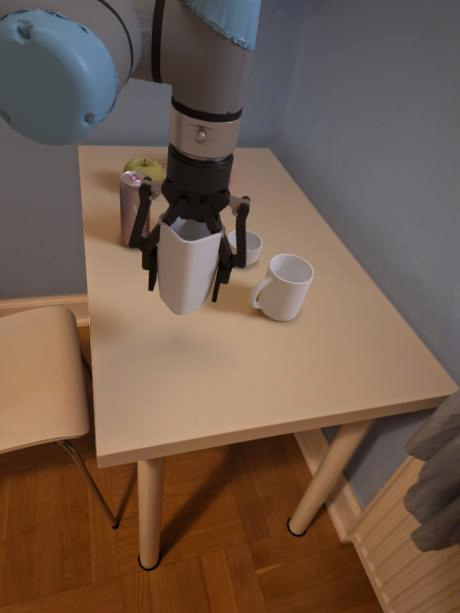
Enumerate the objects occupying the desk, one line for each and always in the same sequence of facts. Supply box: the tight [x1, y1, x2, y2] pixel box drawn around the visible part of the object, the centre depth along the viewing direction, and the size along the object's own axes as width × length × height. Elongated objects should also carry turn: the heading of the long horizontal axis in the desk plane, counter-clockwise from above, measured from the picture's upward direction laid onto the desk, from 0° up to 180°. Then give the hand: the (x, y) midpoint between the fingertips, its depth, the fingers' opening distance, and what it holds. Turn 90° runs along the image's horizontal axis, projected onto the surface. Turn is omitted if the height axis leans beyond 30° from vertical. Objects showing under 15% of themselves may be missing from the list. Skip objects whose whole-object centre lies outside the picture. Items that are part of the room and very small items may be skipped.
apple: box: [122, 157, 165, 182], centre depth 100 cm, size 10×10×8 cm
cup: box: [156, 211, 227, 316], centre depth 58 cm, size 7×7×15 cm
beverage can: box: [118, 171, 151, 248], centre depth 83 cm, size 6×6×15 cm
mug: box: [248, 253, 315, 322], centre depth 76 cm, size 12×8×10 cm
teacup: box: [227, 228, 264, 267], centre depth 88 cm, size 10×8×5 cm
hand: (183, 290), depth 61 cm, fingers closed on cup, 9 cm apart
